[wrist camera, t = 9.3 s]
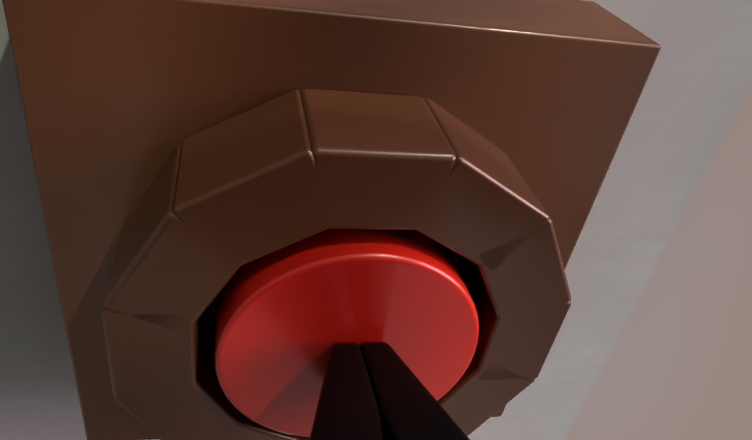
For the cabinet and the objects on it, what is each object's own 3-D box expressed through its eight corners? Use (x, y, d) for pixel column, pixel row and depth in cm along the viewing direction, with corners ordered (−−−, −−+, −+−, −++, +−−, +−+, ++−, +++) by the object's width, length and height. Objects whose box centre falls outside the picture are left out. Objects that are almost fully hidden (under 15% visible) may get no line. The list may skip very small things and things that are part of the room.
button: (473, 187, 10) (512, 255, 8) (424, 356, 12) (448, 431, 11) (217, 179, 9) (215, 254, 7) (216, 363, 11) (214, 448, 10)
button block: (595, 1, 11) (742, 96, 8) (472, 346, 16) (530, 488, 13) (43, -63, 9) (-64, 31, 6) (105, 359, 14) (67, 533, 11)
